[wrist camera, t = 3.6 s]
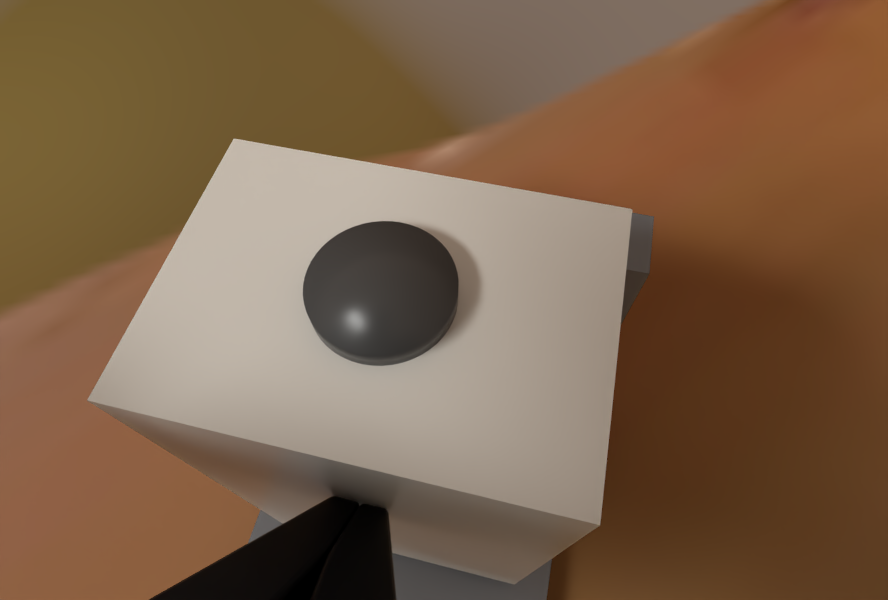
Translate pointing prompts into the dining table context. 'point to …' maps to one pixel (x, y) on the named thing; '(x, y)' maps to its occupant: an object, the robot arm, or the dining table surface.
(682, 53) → the dining table surface
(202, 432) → the plunger
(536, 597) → the housing
